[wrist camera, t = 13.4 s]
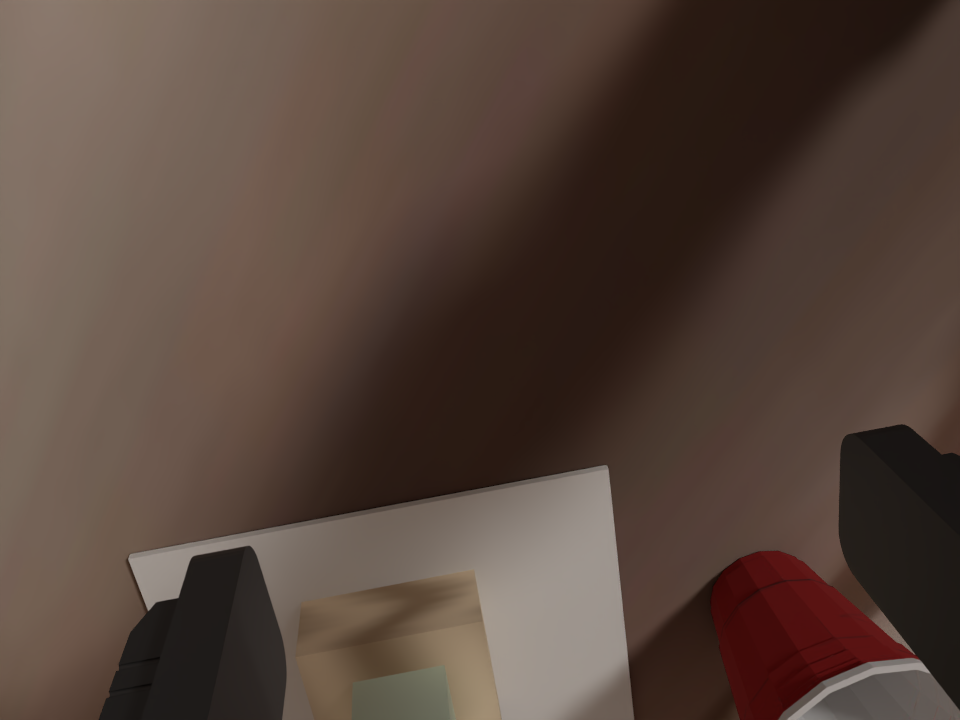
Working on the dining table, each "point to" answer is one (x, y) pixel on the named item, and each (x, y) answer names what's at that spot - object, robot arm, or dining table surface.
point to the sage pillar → (404, 696)
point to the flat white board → (456, 548)
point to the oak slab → (397, 643)
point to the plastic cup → (813, 650)
